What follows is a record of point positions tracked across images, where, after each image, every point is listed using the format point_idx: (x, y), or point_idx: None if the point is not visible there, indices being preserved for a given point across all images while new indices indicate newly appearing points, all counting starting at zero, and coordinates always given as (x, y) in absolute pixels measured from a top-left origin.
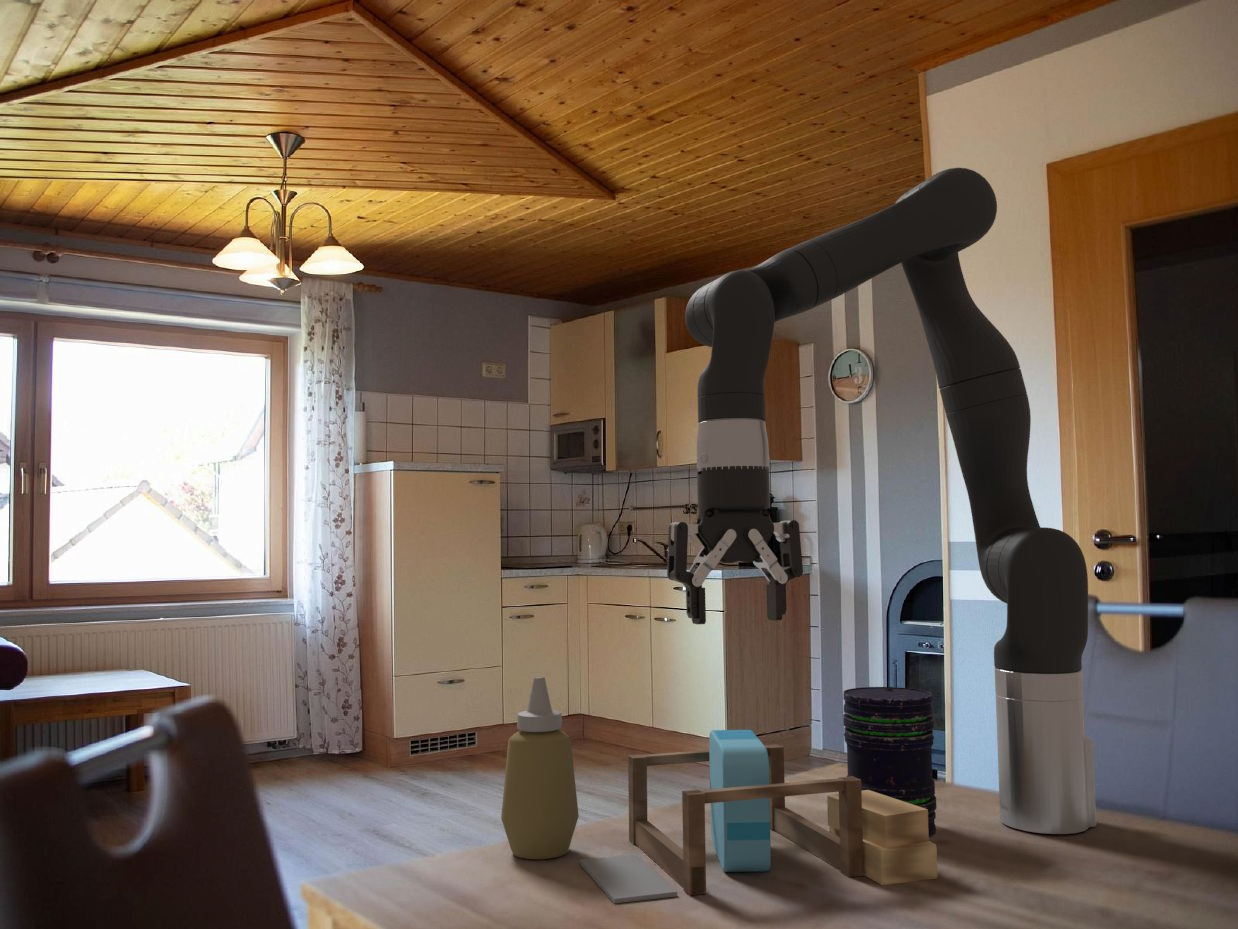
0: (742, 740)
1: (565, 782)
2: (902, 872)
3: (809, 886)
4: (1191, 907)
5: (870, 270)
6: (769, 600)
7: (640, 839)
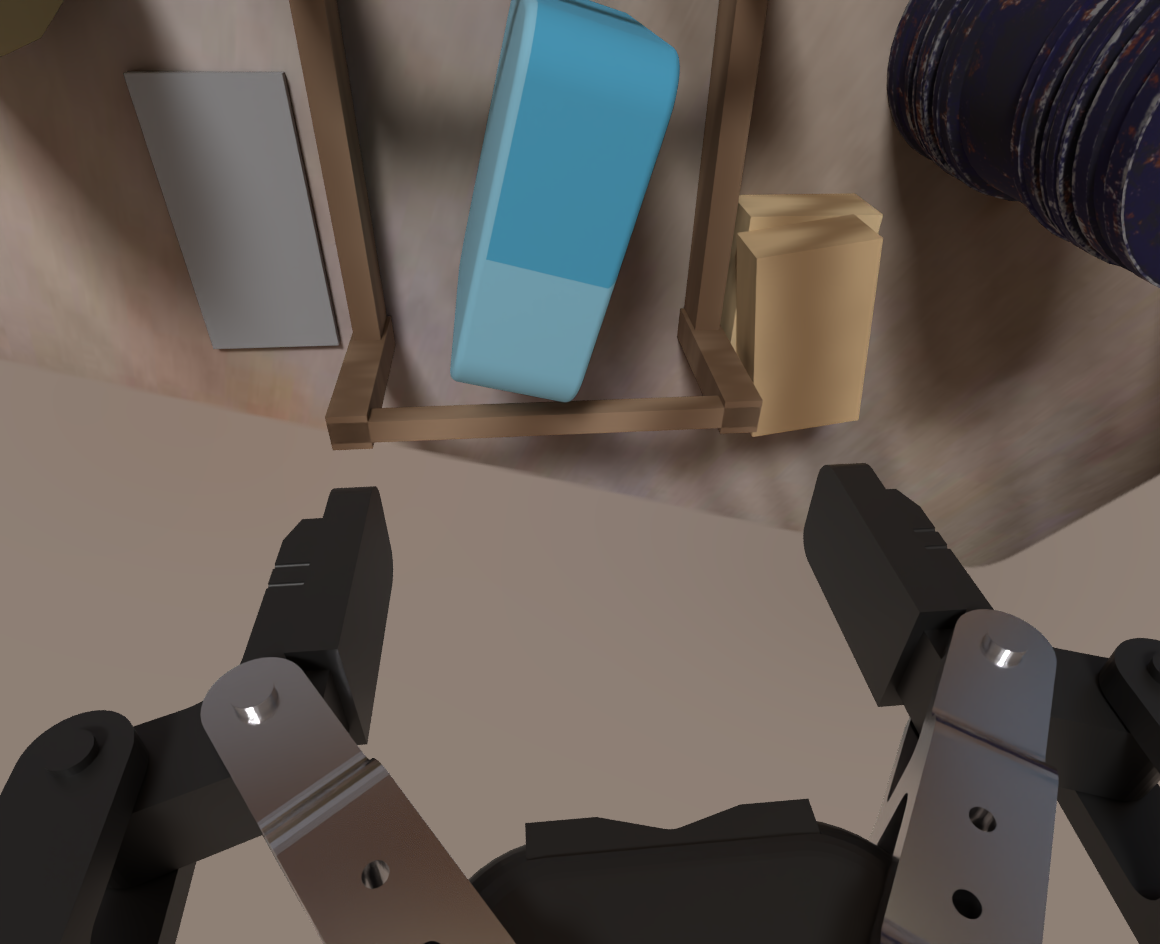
0: (553, 293)
1: None
2: None
3: None
4: (992, 540)
5: None
6: (861, 560)
7: None
